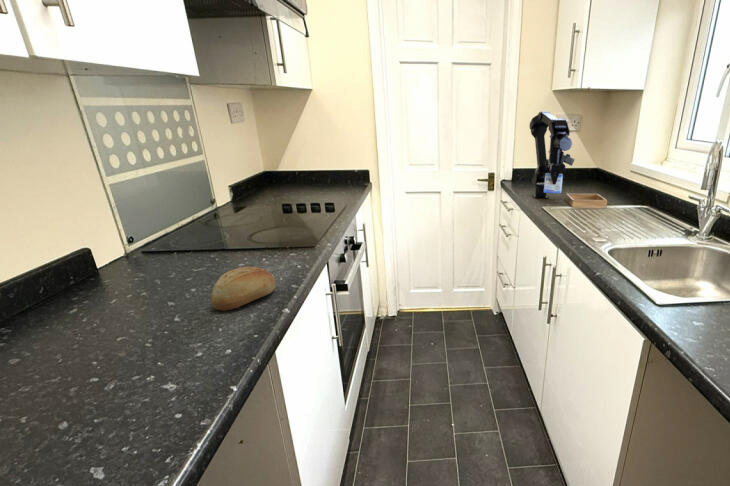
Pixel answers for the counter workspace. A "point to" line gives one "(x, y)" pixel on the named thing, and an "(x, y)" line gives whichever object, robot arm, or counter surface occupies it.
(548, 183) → the medicine box
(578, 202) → the wooden tray
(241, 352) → the counter surface
